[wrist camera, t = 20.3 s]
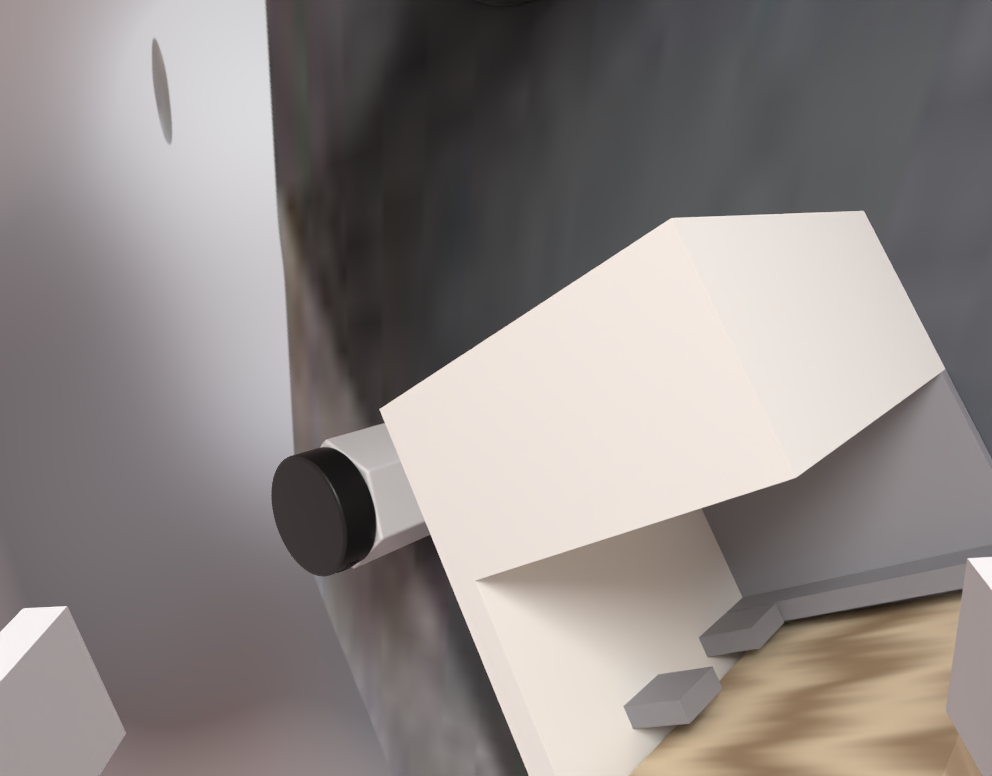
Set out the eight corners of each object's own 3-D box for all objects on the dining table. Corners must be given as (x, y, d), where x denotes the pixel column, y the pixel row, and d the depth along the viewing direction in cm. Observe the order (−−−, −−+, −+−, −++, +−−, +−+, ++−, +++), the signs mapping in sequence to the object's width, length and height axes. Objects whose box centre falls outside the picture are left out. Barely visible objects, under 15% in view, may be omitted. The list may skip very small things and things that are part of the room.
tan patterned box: (1022, 581, 32) (934, 795, 21) (1067, 670, 32) (1002, 940, 20) (773, 624, 41) (609, 795, 29) (806, 696, 40) (652, 899, 28)
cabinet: (863, 210, 35) (671, 217, 22) (1116, 699, 32) (1071, 1053, 19) (612, 348, 45) (379, 409, 32) (784, 725, 42) (605, 964, 29)
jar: (392, 485, 62) (262, 533, 53) (407, 396, 58) (271, 431, 50) (470, 543, 57) (340, 606, 48) (491, 449, 53) (356, 498, 45)
